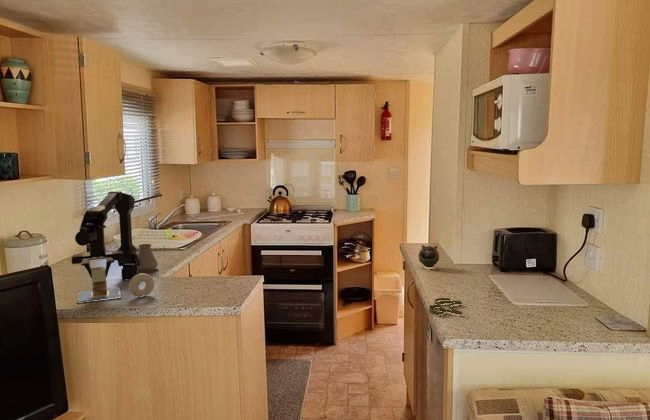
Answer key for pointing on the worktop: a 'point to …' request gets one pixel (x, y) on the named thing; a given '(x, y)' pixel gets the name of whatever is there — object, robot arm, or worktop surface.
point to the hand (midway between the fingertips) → (99, 277)
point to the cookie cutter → (444, 308)
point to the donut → (139, 278)
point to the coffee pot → (146, 258)
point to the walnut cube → (99, 288)
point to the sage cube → (98, 274)
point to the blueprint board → (89, 296)
